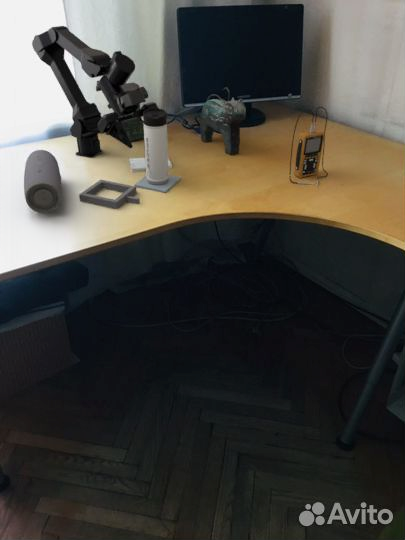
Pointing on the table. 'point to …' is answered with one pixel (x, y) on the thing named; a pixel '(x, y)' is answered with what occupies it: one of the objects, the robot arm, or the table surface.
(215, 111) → the animal figurine
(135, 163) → the hard drive
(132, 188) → the collar
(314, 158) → the multimeter
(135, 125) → the coffee jar
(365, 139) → the table surface
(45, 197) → the bluetooth speaker
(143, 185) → the mat
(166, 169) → the travel mug
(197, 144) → the table surface
